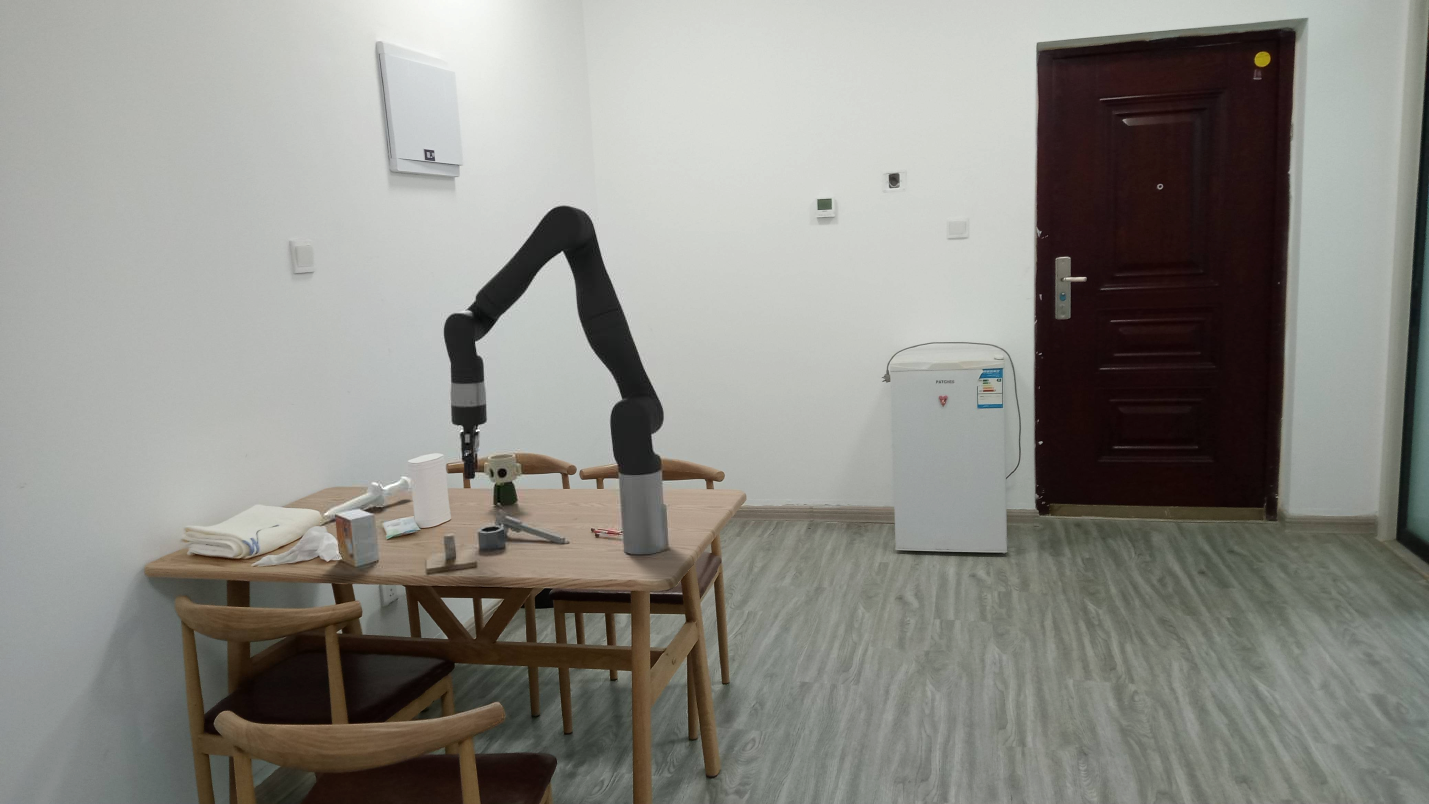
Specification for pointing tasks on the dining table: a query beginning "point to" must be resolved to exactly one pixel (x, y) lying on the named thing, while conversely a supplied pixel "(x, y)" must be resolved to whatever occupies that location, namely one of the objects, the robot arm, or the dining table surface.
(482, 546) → the collar ring
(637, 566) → the dining table surface
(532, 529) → the caliper
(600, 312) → the robot arm
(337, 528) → the small box
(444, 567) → the inverted t stand
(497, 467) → the character mug
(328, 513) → the dagger
